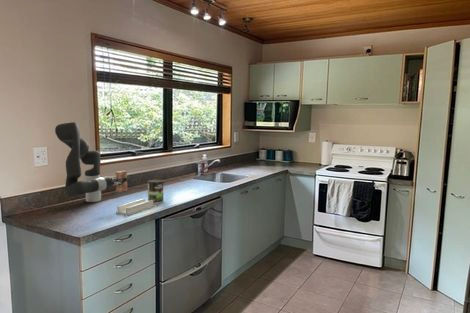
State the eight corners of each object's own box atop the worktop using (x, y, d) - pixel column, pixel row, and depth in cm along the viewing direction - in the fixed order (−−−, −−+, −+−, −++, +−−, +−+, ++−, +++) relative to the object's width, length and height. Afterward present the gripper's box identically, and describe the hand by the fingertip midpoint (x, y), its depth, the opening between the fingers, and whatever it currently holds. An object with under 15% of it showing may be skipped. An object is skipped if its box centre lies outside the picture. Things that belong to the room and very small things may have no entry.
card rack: (129, 215, 196) (128, 208, 195) (116, 212, 200) (116, 206, 200) (154, 206, 215) (154, 200, 215) (142, 204, 220) (142, 198, 219)
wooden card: (119, 192, 205) (119, 172, 203) (116, 191, 206) (115, 172, 204) (127, 190, 210) (126, 171, 208) (123, 189, 211) (123, 170, 210)
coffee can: (166, 201, 227) (166, 180, 226) (153, 204, 220) (153, 182, 218) (157, 198, 234) (157, 178, 233) (144, 201, 227) (144, 180, 225)
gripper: (110, 178, 190) (132, 174, 205) (92, 176, 197) (115, 171, 212) (110, 191, 191) (133, 186, 206) (93, 188, 198) (116, 183, 213)
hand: (124, 179), depth 209 cm, fingers closed on wooden card, 3 cm apart
